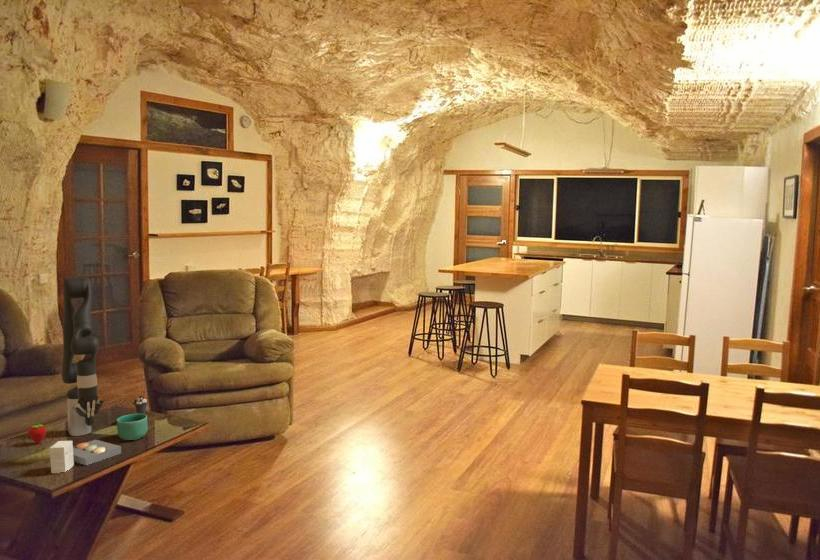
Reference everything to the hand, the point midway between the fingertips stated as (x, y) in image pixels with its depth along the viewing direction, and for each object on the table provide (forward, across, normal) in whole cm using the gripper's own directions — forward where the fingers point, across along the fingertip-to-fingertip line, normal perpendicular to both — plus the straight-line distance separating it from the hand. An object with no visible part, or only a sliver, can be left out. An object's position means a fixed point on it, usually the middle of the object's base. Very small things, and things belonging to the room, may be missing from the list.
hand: (89, 425), depth 274 cm
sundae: (+13, -39, -19) cm, 46 cm away
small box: (+13, +15, +4) cm, 21 cm away
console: (+13, 0, 0) cm, 13 cm away
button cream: (+13, 0, +6) cm, 14 cm away
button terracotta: (+13, 0, -5) cm, 14 cm away
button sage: (+13, 0, 0) cm, 13 cm away
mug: (+13, -24, -4) cm, 28 cm away
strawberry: (+13, +3, -34) cm, 37 cm away
